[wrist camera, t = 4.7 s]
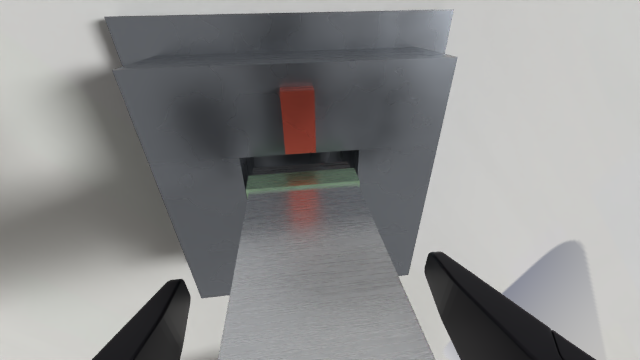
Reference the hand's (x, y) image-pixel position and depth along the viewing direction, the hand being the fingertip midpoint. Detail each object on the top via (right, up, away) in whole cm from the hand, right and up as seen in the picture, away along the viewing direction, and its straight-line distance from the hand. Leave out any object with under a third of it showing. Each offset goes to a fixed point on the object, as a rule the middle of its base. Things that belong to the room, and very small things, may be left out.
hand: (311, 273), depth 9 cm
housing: (-1, +4, +7) cm, 8 cm away
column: (-1, +3, +4) cm, 5 cm away
